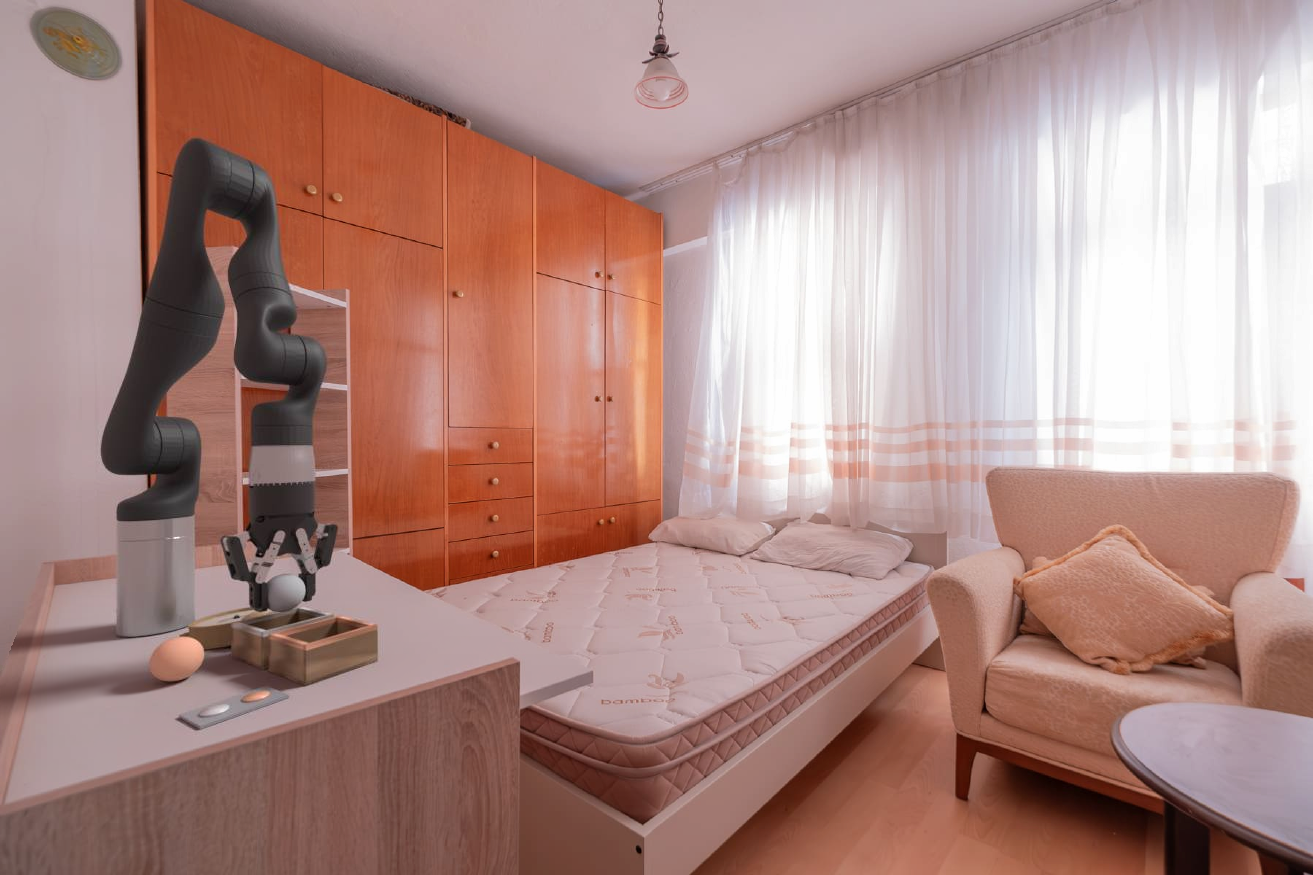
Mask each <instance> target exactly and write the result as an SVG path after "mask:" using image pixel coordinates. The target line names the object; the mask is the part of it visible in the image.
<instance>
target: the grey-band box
mask: <svg viewBox="0 0 1313 875" xmlns="http://www.w3.org/2000/svg"><path fill="white" fill-rule="evenodd" d="M332 617H335V614H334V613H332V612H331V613H330V612H326V611H322V610H317V609H313V608H309V607H305V606H297V607H296V608H294V609H292V610H290V611H286V612H275V613H270V614H266V615H262V616H257V617H253V618H249V619H245V620H240V621H236V622H232V623H231V645H230V648H231V651H230V658H232V659H234V660H236V661H239V662H242V663H245V664H247V665H250V666H253V667H255V668H259V669H261V670H269V634H271V633H274V632H278V631H282V630H286V629H290V628H294V627H297V626H301V625H305V624H309V623H313V622H317V621H321V620H324V619H328V618H332Z"/></svg>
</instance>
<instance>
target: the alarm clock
mask: <svg viewBox="0 0 1313 875" xmlns="http://www.w3.org/2000/svg"><path fill="white" fill-rule="evenodd" d="M295 608H296V607H295ZM270 613H275V612H274V611H271V610H269V609H267V611H264V612H257V611H255V610H254V608H251V607H250V606H247V607H241V608H236V609H231V610H227V611H222V612H218V613H215V614H212V615H211V614H210V615H208V616H205V617H204V616H203V617H201V618H198V619H195V621H193V622H191V623H190V624H188V626H187V627H188V628H187V629H188V632H184V633H180V634H179V636H178V637H190V638H193V639H195V640H197V641H198V642H199V643H200V644H201V645H202V647H203V649H204V650H208V649H216V648H217V649H219V648H222V647H228V646H231V623H232V622H236V621H240V620H245V619H249V618H253V617H257V616H262V615H266V614H270Z"/></svg>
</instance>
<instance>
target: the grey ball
mask: <svg viewBox="0 0 1313 875" xmlns="http://www.w3.org/2000/svg"><path fill="white" fill-rule="evenodd" d="M266 583H268V609H269V610H271V611H274V612H286V611H290V610H292V609H294V608H295V607H299V605H300V604H301V603H302V602H303V601H302V600H303V599H304V596H305V591H306V589H305V585H304V583H303V581H302V580H301V579H300V578H299V577H298V575H296V574H291V573H282V574H278V575H275V576H273V577H272V578H270V579H269V580H268V581H266Z"/></svg>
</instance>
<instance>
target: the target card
mask: <svg viewBox="0 0 1313 875" xmlns="http://www.w3.org/2000/svg"><path fill="white" fill-rule="evenodd" d="M289 698H290V694H288V693H285V692H283V691H280V690H278V689H275V688H273V687H271V686H268V685H264V686H261V687H258V688H255V689H253V690H249V691H246V692H243V693H239V694H237V695H235V696H231V697H228V698H225V699H221V700H219V701H215V702H213V703H210V704H206V705H204V706H202V707H197V708H195V709H191V710H189V711H185V712H183V713H179V714H178V717H179V719H181V720H183V721H185V722H186V723H189V725H192V726H193V727H195V728H198V729H199V730H201V729H205V728H208V727H210V726H213V725H216V724H219V723H221V722H225V721H227V720H230V719H233V718H235V717H238V716H239V717H240V716H241V715H245V714H248V713H250V712H253V711H256V710H258V709H261V708H264V707H266V706H270V705H272V704H275V703H278V702H280V701H281V702H282V701H284V700H286V699H289Z"/></svg>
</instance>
